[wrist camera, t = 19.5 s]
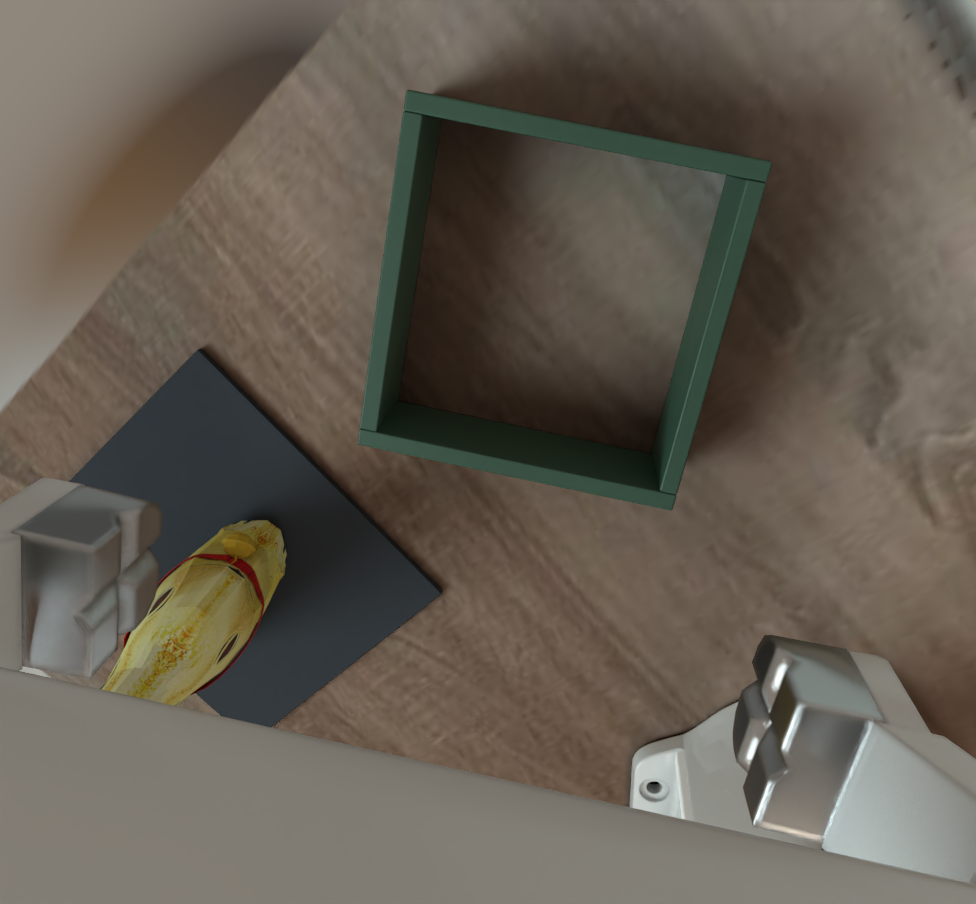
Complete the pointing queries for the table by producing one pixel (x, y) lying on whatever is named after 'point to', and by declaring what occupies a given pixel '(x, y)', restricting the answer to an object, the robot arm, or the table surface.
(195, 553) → the chocolate bunny
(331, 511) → the mat
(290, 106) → the table surface
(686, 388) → the crate
